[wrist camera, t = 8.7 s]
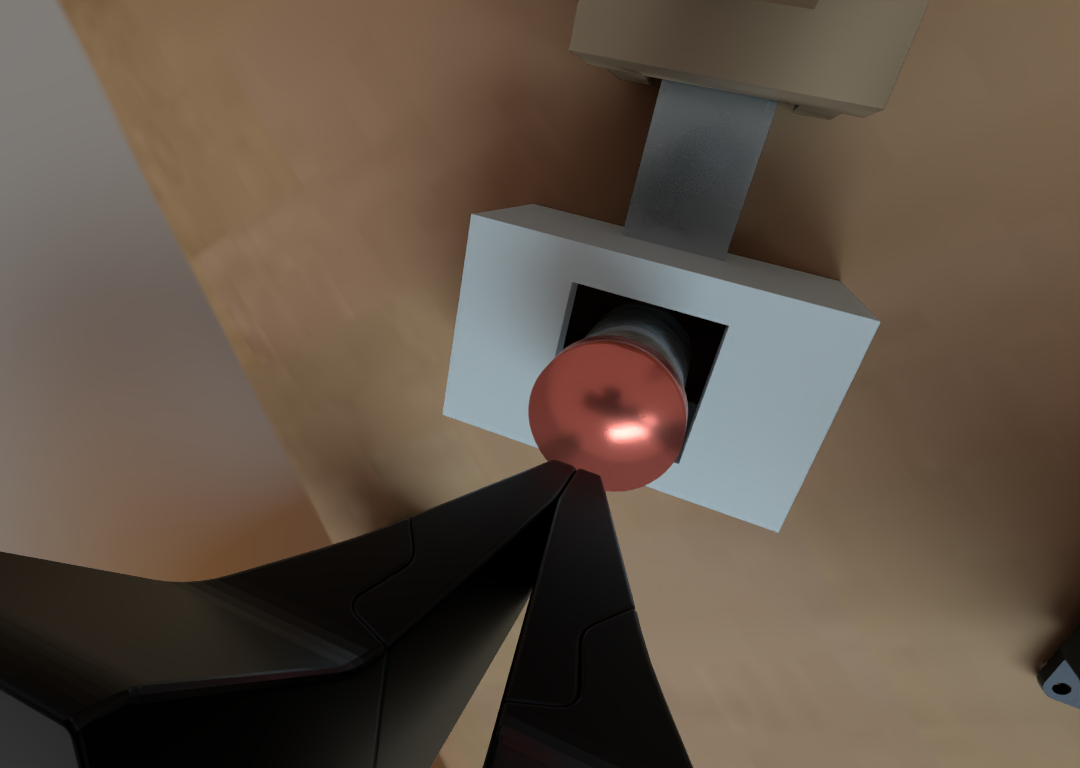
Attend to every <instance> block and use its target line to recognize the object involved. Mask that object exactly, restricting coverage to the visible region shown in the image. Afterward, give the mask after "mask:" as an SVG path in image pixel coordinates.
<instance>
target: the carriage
mask: <svg viewBox="0 0 1080 768" xmlns="http://www.w3.org/2000/svg"><path fill="white" fill-rule="evenodd" d="M928 3H929V0H578V3H577V9H576V14H575V19H574V24H573V29H572V35H571V40H570V45H569V51H570V52H572V53H573V54H574V55H576V56H577V57H579V58H580V59H581V60H583V61H584V62H585V63H587V64H588V65H592V66H597V67H603V68H607V69H608V70H609V71H610V72H611V73H613V74H614V75H615V76H616V77H617V78H619V79H622V80H627V81H633V82H638V83H643V84H648V85H652V83H653V79H654V77H655V78H660V79H665V80H670V81H676V82H681V83H686V84H691V85H697V86H702V87H707V88H712V89H717V90H723V91H728V92H733V93H738V94H744V95H749V96H754V97H759V98H764V99H770V100H775V101H780V102H785V103H790V104H795V106H794V109H793V112H792V113H797V114H802V115H807V116H812V117H817V118H822V119H828V120H830V119H832V118H834V117H836V116H838V115H840V114H842V113H843V114H848V115H853V116H858V117H866V116H869V115H871V114H874V113H876V112H878V111H881V110H883V109H884V108H885V106H886V104H887V101H888V99H889V96H890V94H891V92H892V89H893V87H894V84H895V82H896V80H897V77H898V75H899V72H900V70H901V68H902V65H903V63H904V60H905V58H906V56H907V53H908V51H909V48H910V46H911V44H912V41H913V39H914V36H915V34H916V32H917V29H918V27H919V24H920V22H921V20H922V17H923V15H924V12H925V10H926V8H927V5H928Z"/></svg>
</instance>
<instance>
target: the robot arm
mask: <svg viewBox="0 0 1080 768" xmlns="http://www.w3.org/2000/svg"><path fill="white" fill-rule="evenodd" d="M530 595H531V596H530ZM529 596H530V599H529V603H528V606H527V610H526V614H525V617H524V621H523V625H522V628H521V632H520V636H519V639H518V643H517V646H516V650H515V654H514V657H513V661H512V665H511V668H510V672H509V675H508V679H507V683H506V686H505V690H504V694H503V697H502V701H501V705H500V709H499V712H498V715H497V719H496V723H495V726H494V730H493V733H492V737H491V740H490V744H489V748H488V751H487V754H486V758H485V761H484V764H483V768H693V766H692V764H691V761H690V759H689V756H688V754H687V752H686V749H685V747H684V744H683V742H682V739H681V737H680V735H679V732H678V730H677V727H676V725H675V722H674V720H673V718H672V715H671V713H670V710H669V708H668V705H667V703H666V701H665V698H664V695H663V693H662V690H661V688H660V685H659V682H658V680H657V677H656V674H655V672H654V669H653V667H652V664H651V661H650V658H649V654H648V651H647V648H646V644H645V641H644V638H643V635H642V631H641V627H640V623H639V619H638V616H637V612H636V611H635V605H634V601H633V597H632V593H631V590H630V586H629V582H628V578H627V574H626V570H625V566H624V563H623V559H622V555H621V551H620V547H619V543H618V539H617V536H616V532H615V528H614V524H613V520H612V516H611V512H610V509H609V505H608V501H607V497H606V493H605V489H604V485H603V482H602V478H601V476H600V475H598V474H595V473H592V472H590V471H587V470H584V469H578V470H576V468H575V467H574V466H573V465H570V464H567V463H564V462H561V461H559V460H551V461H548V462H546V463H543V464H541V465H538V466H536V467H533V468H531V469H528V470H526V471H523V472H521V473H518V474H516V475H513V476H511V477H508V478H506V479H503V480H501V481H498V482H496V483H493V484H491V485H488V486H486V487H483V488H481V489H478V490H476V491H473V492H471V493H468V494H466V495H463V496H461V497H458V498H456V499H453V500H451V501H448V502H446V503H443V504H441V505H438V506H436V507H433V508H431V509H428V510H426V511H423V512H421V513H418V514H416V515H413V516H411V517H410V519H408V518H405V519H403V520H400V521H398V522H395V523H393V524H390V525H388V526H385V527H383V528H380V529H377V530H374V531H372V532H369V533H366V534H364V535H361V536H358V537H355V538H352V539H349V540H346V541H343V542H339V543H336V544H333V545H330V546H327V547H324V548H320V549H317V550H313V551H310V552H307V553H303V554H300V555H296V556H293V557H290V558H287V559H283V560H279V561H276V562H272V563H269V564H266V565H262V566H259V567H256V568H252V569H248V570H245V571H242V572H238V573H235V574H231V575H227V576H223V577H220V578H215V579H210V580H203V581H193V582H167V581H160V580H153V579H147V578H142V577H136V576H131V575H126V574H120V573H115V572H109V571H104V570H98V569H92V568H87V567H81V566H76V565H70V564H66V563H60V562H54V561H49V560H44V559H38V558H33V557H27V556H21V555H16V554H11V553H5V552H0V768H430V767H431V765H432V763H433V761H434V760H435V758H436V756H437V755H438V753H439V751H440V750H441V748H442V746H443V745H444V743H445V741H446V739H447V738H448V736H449V734H450V733H451V731H452V729H453V727H454V726H455V724H456V722H457V721H458V719H459V717H460V715H461V714H462V712H463V710H464V709H465V707H466V705H467V703H468V702H469V700H470V698H471V697H472V695H473V693H474V691H475V690H476V688H477V686H478V685H479V683H480V681H481V679H482V678H483V676H484V674H485V673H486V671H487V669H488V667H489V666H490V664H491V662H492V661H493V659H494V657H495V655H496V654H497V652H498V650H499V649H500V647H501V645H502V643H503V642H504V640H505V638H506V637H507V635H508V633H509V631H510V630H511V628H512V626H513V625H514V623H515V621H516V619H517V618H518V616H519V614H520V613H521V611H522V609H523V607H524V606H525V604H526V602H527V600H528V598H529ZM1037 681H1038V683H1039V685H1040V686H1041V688H1042V690H1043V691H1044V693H1045V694H1046V695H1047V696H1049V697H1050V698H1052V699H1055V700H1057V701H1060V702H1063V703H1065V704H1068V705H1071V706H1073V707H1076V708H1079V709H1080V625H1079V626H1078V627H1077V629H1076V630H1075V631H1074V632H1073V633H1072V634H1071V636H1070V637H1069V638H1068V639H1067V640H1066V641H1065V643H1064V644H1063V645H1062V646H1061V647H1060V649H1059V650H1058V651H1057V652H1056V653H1055V654H1054V656H1053V657H1052V658H1051V659H1050V660H1049V661H1048V663H1047V664H1046V665H1045V666H1044V667H1043V668H1042V670H1041V671H1040V672H1039V673H1038V675H1037ZM1056 683H1062V684H1059V685H1055V684H1056Z"/></svg>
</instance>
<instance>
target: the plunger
mask: <svg viewBox="0 0 1080 768" xmlns="http://www.w3.org/2000/svg"><path fill="white" fill-rule="evenodd" d="M690 361H691V346H690V341H689V338H688V335H687V333H686V331H685V329H684V328H683V326H682V325H681V323H680V322H679V321H678V320H677V319H676V318H675V317H674V316H673V315H672V314H670V313H669V312H667V311H666V310H664V309H662V308H660V307H658V306H655V305H651V304H646V303H630V304H625V305H622V306H619V307H617V308H615V309H613V310H611V311H610V312H608V313H607V314H606V315H604V316H603V317H602V318H601V319H600V321H599V322H598V323H597V324H596V325H595V326H594V327H593V328H592V330H591V331H590V332H589V333H588V334H587V335H586V336H585V337H584V339H581V340H579V341H577V342H575V343H573V344H571V345H569V346H568V347H566V348H565V349H563V350H562V351H561V352H560V353H559V354H558V355H557V356H556V357H555V358H554V359H553V360H552V361H551V362H550V363H549V364H548V365H547V366H546V367H545V369H544V370H543V371H542V372H541V373H540V375H539V376H538V378H537V380H536V381H535V384H534V386H533V388H532V391H531V395H530V399H529V406H528V416H529V424H530V428H531V432H532V435H533V437H534V440H535V442H536V444H537V446H538V448H539V450H540V451H541V453H542V454H543V455H544V457H545V458H546V459H547V461H551V460H559V461H561V462H564V463H567V464H570V465H573V466H574V467H575V468H576V470H578V469H584V470H587V471H590V472H592V473H595V474H598V475H600V476H601V478H602V482H603V485H604V489H605V491H613V492H615V491H627V490H633V489H636V488H639V487H643V486H645V485H647V484H649V483H651V482H653V481H654V480H656V479H658V478H659V477H660V476H661V475H663V474H664V473H665V472H666V471H667V470H668V469H669V468H670V467H671V465H672V464H673V463H674V461H675V460H676V458H677V457H678V454H679V452H680V450H681V448H682V444H683V440H684V436H685V430H686V425H687V417H688V403H687V397H686V393H685V390H684V389H685V384H686V380H687V375H688V371H689V366H690Z"/></svg>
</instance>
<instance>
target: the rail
mask: <svg viewBox="0 0 1080 768" xmlns="http://www.w3.org/2000/svg"><path fill="white" fill-rule="evenodd" d="M778 102H779V101H775V100H770V99H764V98H759V97H754V96H749V95H744V94H738V93H733V92H728V91H723V90H717V89H712V88H707V87H702V86H697V85H691V84H686V83H681V82H676V81H670V80H665V79H662V82H661V86H660V90H659V94H658V98H657V101H656V105H655V109H654V113H653V117H652V121H651V125H650V129H649V132H648V136H647V140H646V144H645V148H644V152H643V156H642V160H641V163H640V167H639V171H638V175H637V179H636V183H635V187H634V190H633V194H632V198H631V202H630V206H629V210H628V214H627V218H626V221H625V225H624V229H623V233H622V235H623V236H627V237H631V238H635V239H639V240H643V241H647V242H650V243H654V244H658V245H662V246H666V247H670V248H674V249H678V250H682V251H686V252H689V253H693V254H697V255H701V256H705V257H709V258H713V259H717V260H721V261H724V260H725V257H726V254H727V251H728V248H729V245H730V242H731V239H732V236H733V233H734V231H735V228H736V225H737V222H738V219H739V216H740V213H741V210H742V207H743V204H744V201H745V198H746V195H747V193H748V190H749V187H750V184H751V181H752V178H753V175H754V172H755V169H756V166H757V163H758V160H759V157H760V155H761V152H762V149H763V146H764V143H765V140H766V137H767V134H768V131H769V128H770V125H771V122H772V119H773V117H774V114H775V111H776V108H777V105H778Z"/></svg>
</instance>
